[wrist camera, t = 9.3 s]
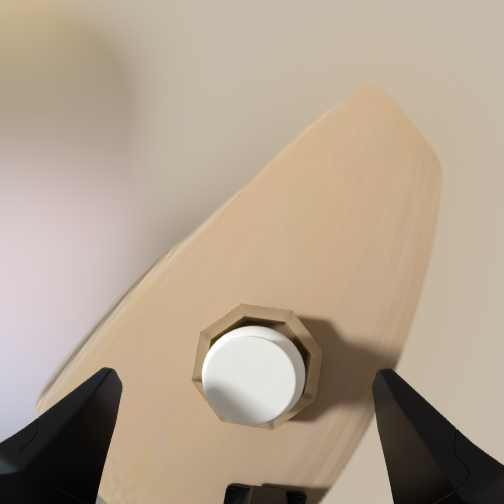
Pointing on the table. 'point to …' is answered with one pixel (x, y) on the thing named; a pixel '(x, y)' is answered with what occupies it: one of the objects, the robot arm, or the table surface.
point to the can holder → (279, 322)
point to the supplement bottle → (253, 375)
